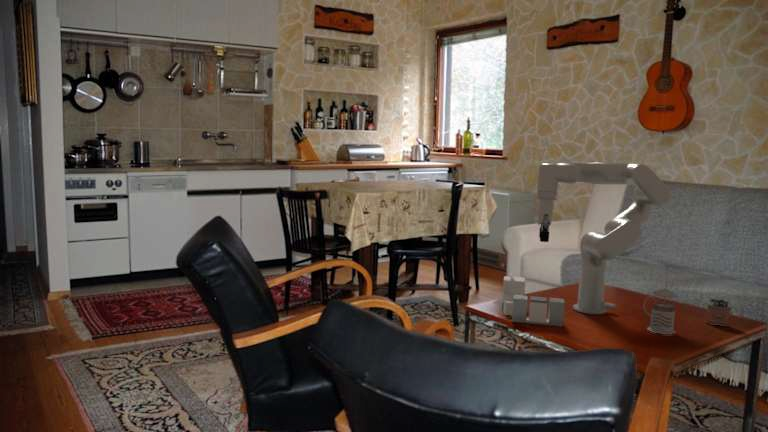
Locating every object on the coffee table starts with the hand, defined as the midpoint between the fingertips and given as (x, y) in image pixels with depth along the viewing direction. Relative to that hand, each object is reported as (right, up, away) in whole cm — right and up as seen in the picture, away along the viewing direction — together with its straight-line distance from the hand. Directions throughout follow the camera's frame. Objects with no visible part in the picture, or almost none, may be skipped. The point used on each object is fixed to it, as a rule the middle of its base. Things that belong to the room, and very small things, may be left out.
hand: (543, 239), depth 249 cm
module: (-6, -29, -13) cm, 32 cm away
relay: (-14, -28, -3) cm, 32 cm away
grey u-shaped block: (-6, -30, -13) cm, 33 cm away
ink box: (-11, -27, +8) cm, 30 cm away
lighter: (+64, -32, -6) cm, 72 cm away
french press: (+37, -32, -17) cm, 52 cm away
